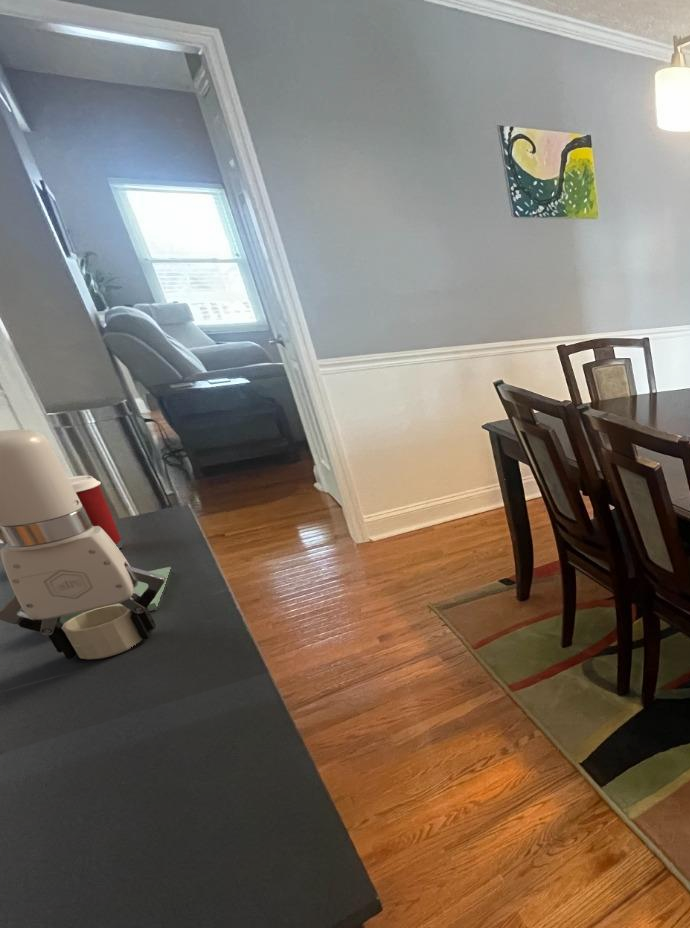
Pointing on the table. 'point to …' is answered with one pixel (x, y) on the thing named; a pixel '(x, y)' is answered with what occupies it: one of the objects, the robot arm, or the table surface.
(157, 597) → the scale
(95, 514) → the paper cup
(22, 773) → the table surface
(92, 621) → the bowl
